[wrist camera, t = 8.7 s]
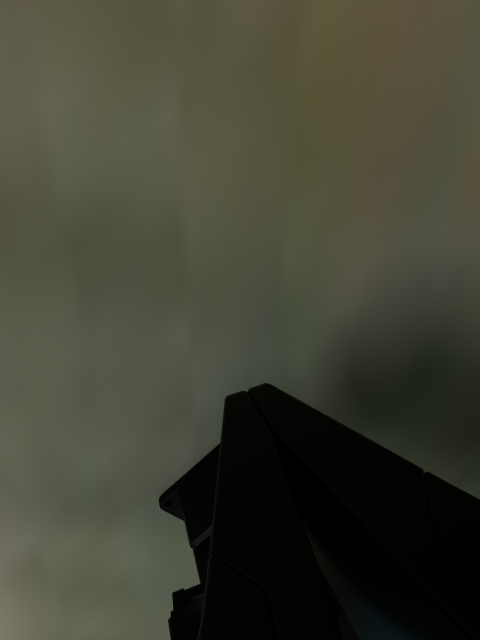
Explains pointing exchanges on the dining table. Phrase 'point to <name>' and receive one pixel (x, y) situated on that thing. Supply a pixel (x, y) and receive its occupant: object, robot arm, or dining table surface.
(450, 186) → the dining table surface
